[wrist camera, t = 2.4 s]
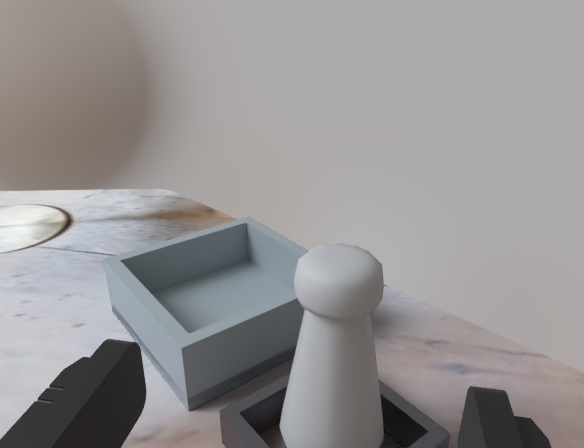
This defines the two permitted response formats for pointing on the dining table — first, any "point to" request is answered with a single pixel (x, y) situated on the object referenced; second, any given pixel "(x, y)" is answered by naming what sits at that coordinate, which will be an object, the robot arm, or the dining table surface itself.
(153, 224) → the dining table surface
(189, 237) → the bin
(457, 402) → the dining table surface
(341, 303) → the salt shaker
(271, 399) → the dark grey square tray
